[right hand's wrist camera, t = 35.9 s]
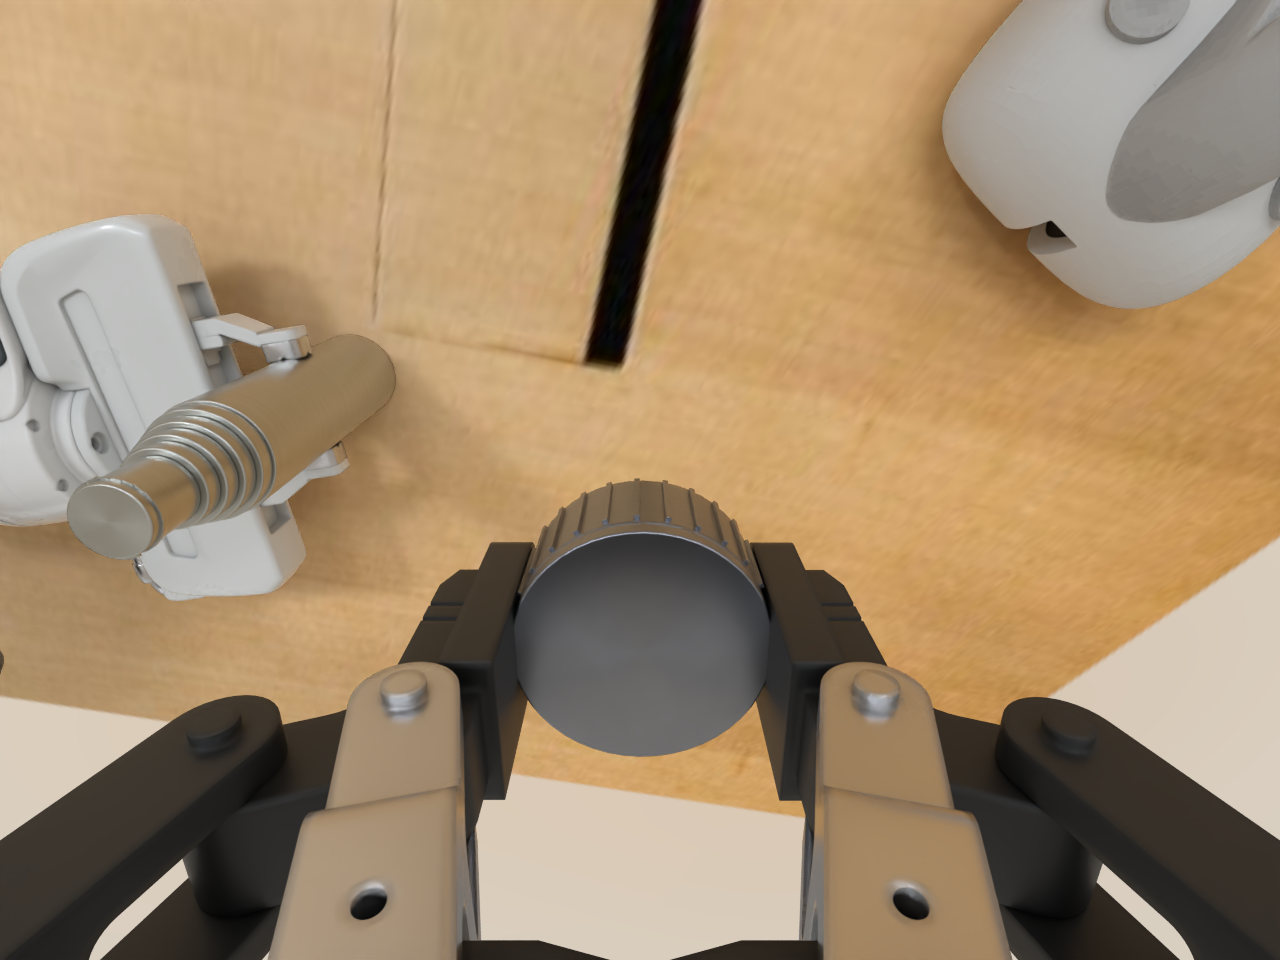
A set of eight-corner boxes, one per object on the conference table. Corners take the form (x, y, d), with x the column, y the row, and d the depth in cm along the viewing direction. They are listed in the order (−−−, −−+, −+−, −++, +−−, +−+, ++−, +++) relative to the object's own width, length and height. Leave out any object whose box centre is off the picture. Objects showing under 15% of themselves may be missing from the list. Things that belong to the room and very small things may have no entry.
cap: (677, 711, 13) (684, 797, 11) (488, 616, 12) (458, 691, 10) (801, 547, 12) (833, 611, 10) (599, 432, 11) (591, 476, 9)
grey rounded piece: (1318, 260, 40) (1665, 286, 27) (919, 325, 42) (1055, 381, 28) (1407, -231, 32) (1968, -553, 19) (911, -131, 34) (1095, -363, 20)
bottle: (299, 347, 42) (-6, 474, 22) (375, 324, 42) (137, 430, 21) (335, 423, 44) (83, 605, 23) (408, 401, 43) (216, 567, 23)
